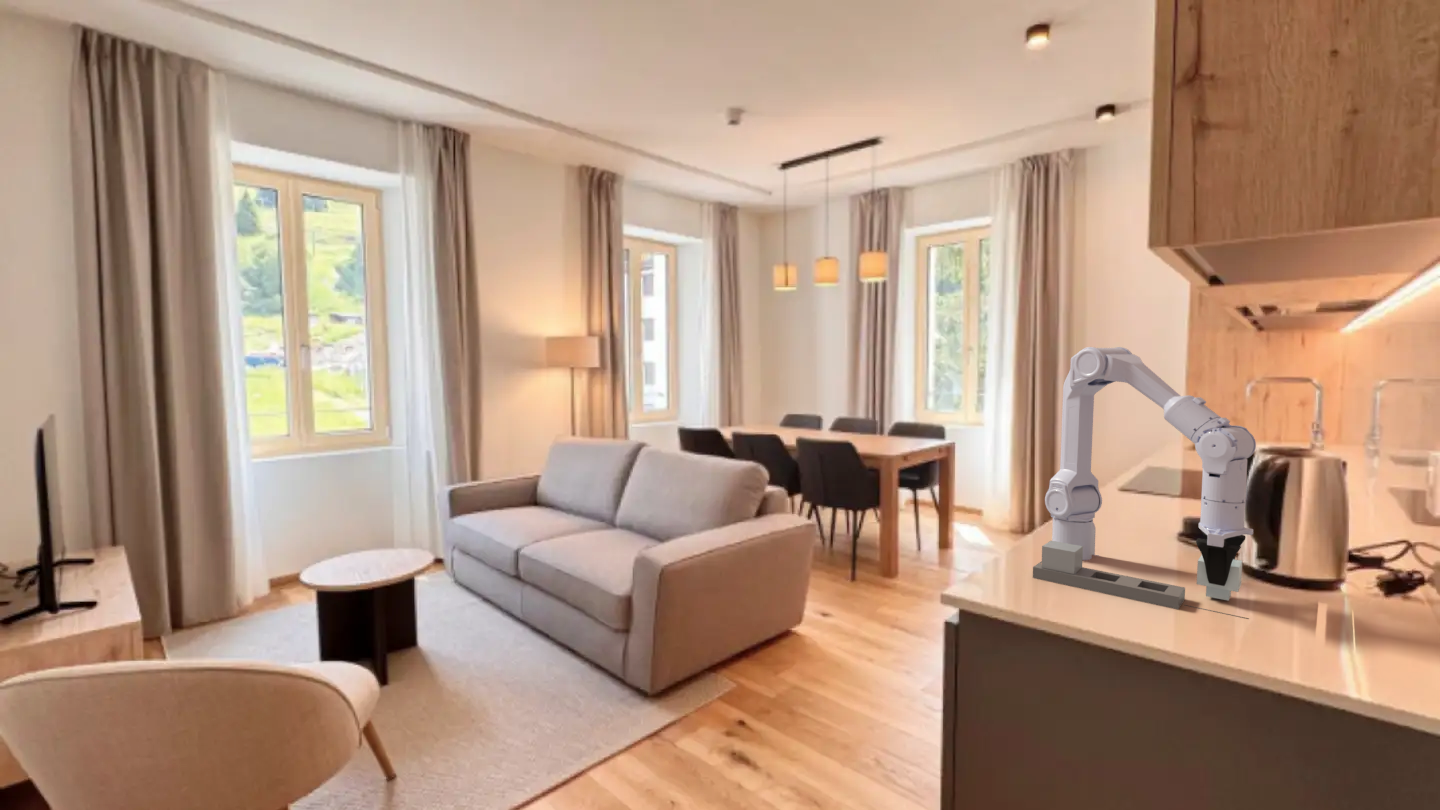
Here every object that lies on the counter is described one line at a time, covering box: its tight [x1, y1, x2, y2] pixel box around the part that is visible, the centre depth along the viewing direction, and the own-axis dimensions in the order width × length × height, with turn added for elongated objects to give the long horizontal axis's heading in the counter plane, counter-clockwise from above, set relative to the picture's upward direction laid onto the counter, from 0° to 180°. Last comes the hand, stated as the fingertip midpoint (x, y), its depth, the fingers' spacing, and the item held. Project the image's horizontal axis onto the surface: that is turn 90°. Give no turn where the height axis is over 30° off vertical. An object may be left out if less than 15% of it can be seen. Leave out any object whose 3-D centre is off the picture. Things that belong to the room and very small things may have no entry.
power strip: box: [1032, 540, 1250, 620], centre depth 109 cm, size 6×30×7 cm, turn 46°
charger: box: [1196, 554, 1243, 602], centre depth 106 cm, size 5×5×6 cm
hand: (1219, 580), depth 106 cm, fingers closed on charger, 5 cm apart
